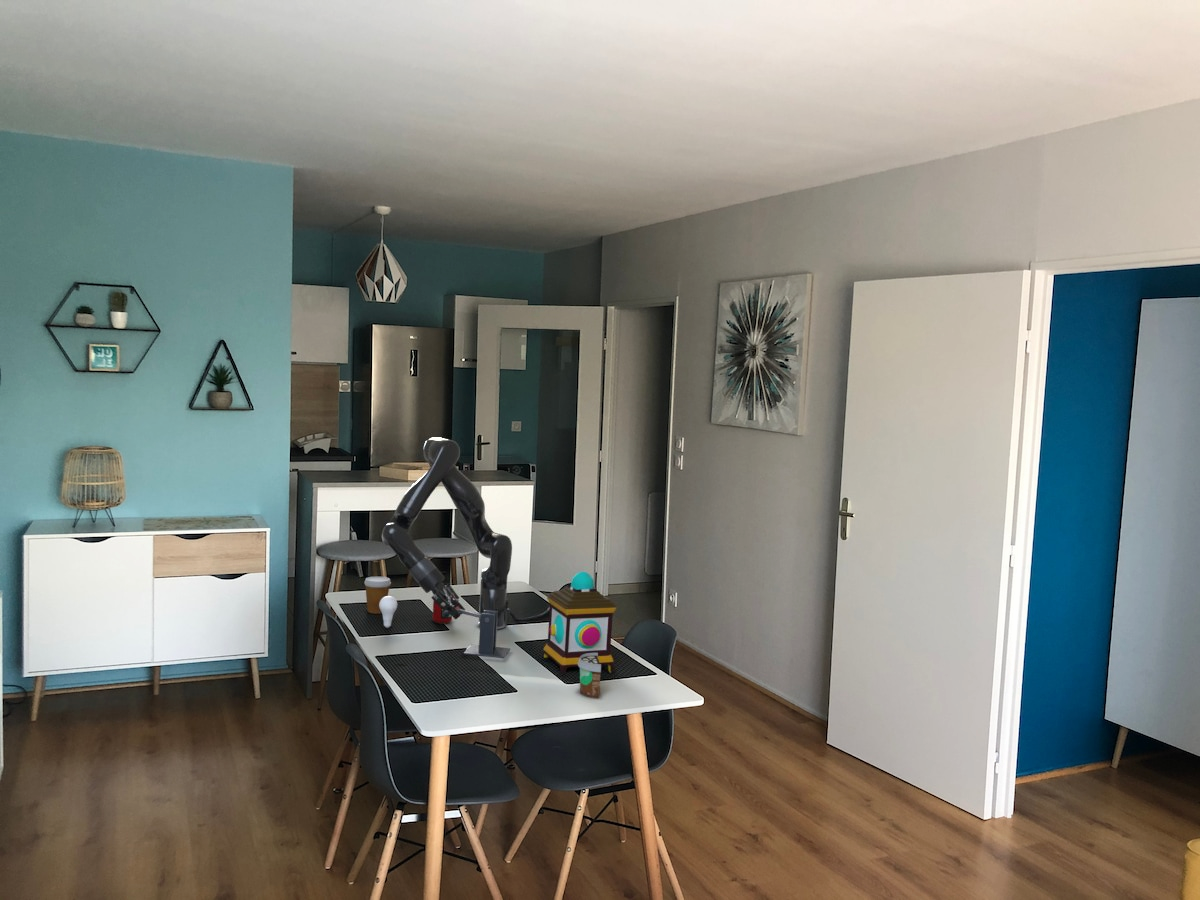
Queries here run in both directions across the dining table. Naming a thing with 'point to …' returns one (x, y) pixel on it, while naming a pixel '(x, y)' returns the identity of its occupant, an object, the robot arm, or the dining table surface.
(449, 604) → the robot arm
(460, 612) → the lever
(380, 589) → the disposable coffee cup
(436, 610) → the beverage can
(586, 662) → the food container
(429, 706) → the dining table surface
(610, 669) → the decorative lantern
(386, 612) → the lightbulb
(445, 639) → the dining table surface
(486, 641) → the bracket
